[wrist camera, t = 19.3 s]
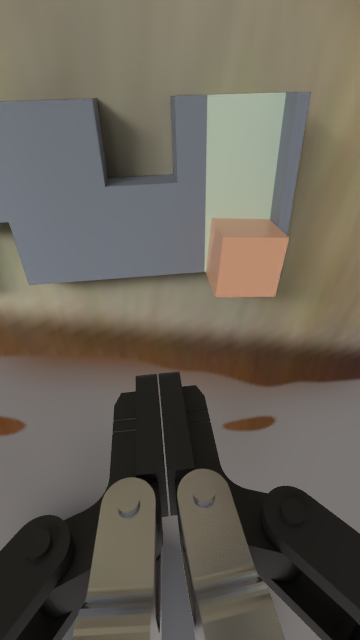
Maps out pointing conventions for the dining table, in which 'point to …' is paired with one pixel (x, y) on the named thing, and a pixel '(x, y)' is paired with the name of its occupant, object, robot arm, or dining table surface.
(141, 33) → the dining table surface
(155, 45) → the dining table surface
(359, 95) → the dining table surface
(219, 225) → the block
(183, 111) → the board
